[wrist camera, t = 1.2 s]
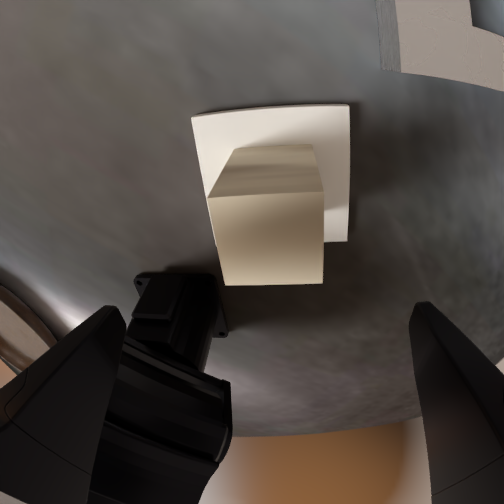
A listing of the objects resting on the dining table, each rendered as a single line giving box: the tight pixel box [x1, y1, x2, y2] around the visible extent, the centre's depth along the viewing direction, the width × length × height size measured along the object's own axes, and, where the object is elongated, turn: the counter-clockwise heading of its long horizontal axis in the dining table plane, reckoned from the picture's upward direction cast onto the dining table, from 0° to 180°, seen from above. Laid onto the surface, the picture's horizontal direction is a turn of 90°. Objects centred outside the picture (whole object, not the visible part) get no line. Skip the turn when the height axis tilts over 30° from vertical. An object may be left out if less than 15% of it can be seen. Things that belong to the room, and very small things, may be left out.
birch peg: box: [207, 144, 324, 285], centre depth 14 cm, size 4×4×6 cm
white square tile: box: [191, 104, 350, 246], centre depth 17 cm, size 8×8×1 cm
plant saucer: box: [0, 285, 57, 371], centre depth 30 cm, size 21×21×3 cm
